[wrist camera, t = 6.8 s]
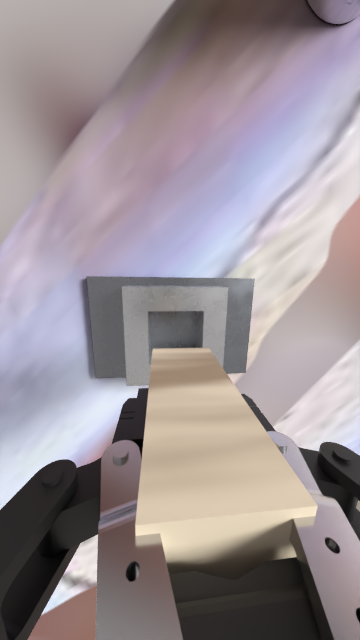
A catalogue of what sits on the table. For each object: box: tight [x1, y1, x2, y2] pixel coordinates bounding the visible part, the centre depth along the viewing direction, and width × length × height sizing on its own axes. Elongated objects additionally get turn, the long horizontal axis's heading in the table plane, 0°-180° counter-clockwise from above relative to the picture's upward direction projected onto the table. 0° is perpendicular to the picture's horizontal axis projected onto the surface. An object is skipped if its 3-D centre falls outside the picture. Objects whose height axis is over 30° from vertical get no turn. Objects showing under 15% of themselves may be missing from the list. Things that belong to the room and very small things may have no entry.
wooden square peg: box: [135, 348, 318, 580], centre depth 9 cm, size 4×4×10 cm
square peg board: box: [87, 276, 254, 386], centre depth 26 cm, size 14×22×5 cm, turn 89°
